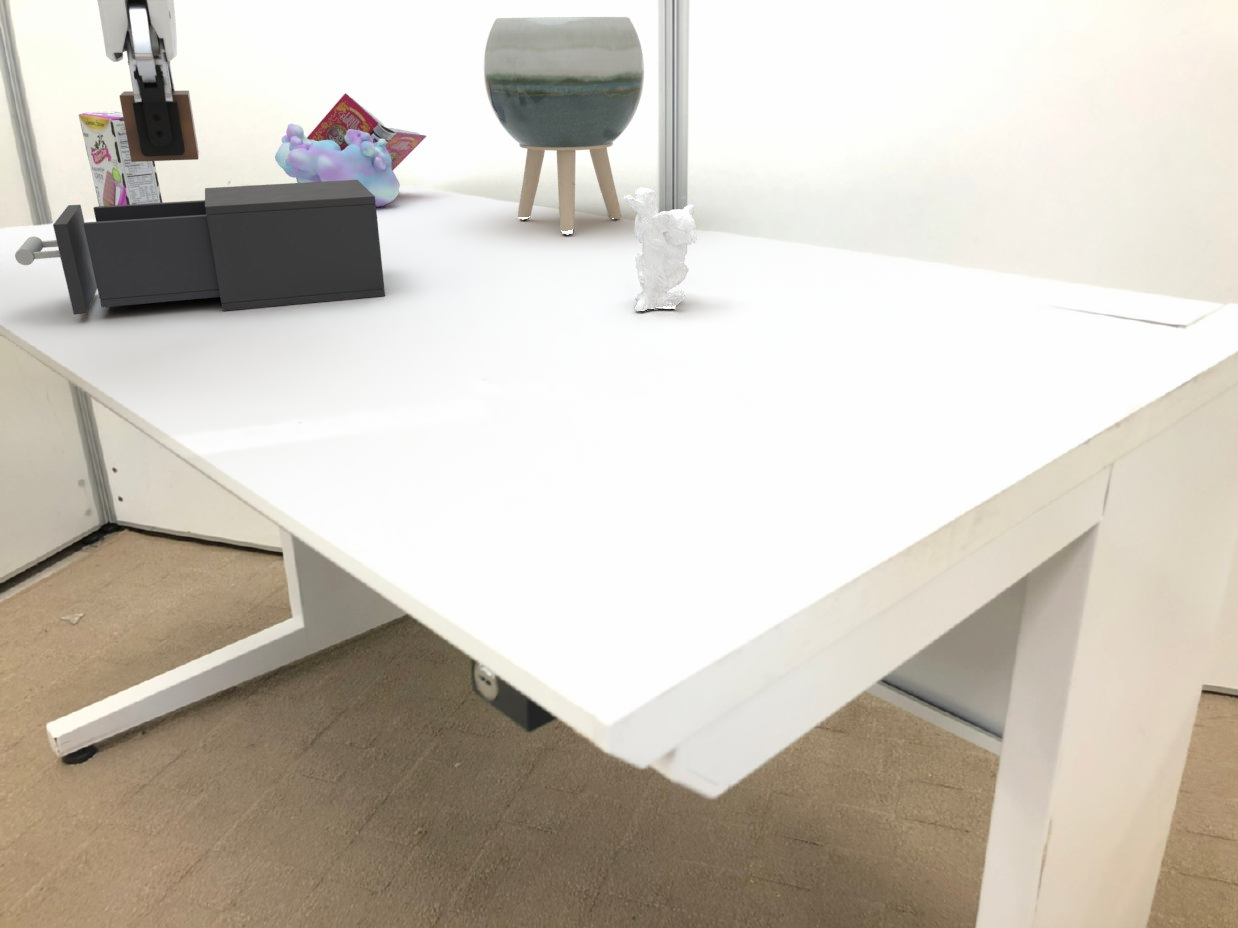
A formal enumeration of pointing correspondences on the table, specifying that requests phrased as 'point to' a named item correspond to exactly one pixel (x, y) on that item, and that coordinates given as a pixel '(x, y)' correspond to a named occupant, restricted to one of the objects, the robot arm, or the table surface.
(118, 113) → the candy bar box
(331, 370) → the table surface
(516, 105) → the planter
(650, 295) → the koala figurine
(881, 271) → the table surface
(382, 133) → the pastel bubbly blob
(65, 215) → the drawer
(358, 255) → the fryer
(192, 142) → the block
